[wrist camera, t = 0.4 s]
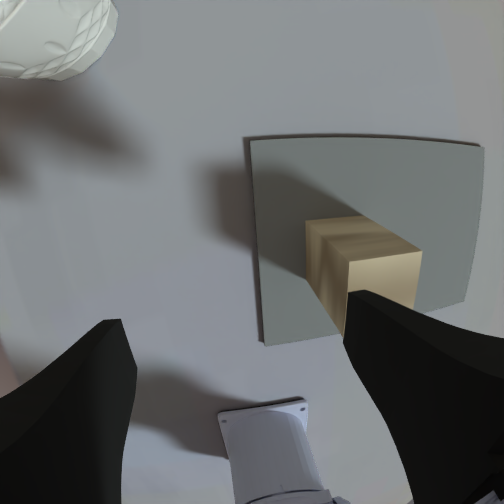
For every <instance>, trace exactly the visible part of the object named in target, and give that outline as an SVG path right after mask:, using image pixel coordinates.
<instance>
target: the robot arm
mask: <svg viewBox="0 0 504 504" xmlns="http://www.w3.org/2000/svg"><path fill="white" fill-rule="evenodd" d="M343 344H344V347H345V349H346V352H347V354H348V357H349V359H350V361H351V364H352V366H353V368H354V370H355V371H356V373H357V375H358V376H359V378H360V380H361V381H362V383H363V385H364V386H365V388H366V390H367V391H368V393H369V395H370V396H371V398H372V400H373V401H374V403H375V405H376V406H377V408H378V410H379V411H380V413H381V415H382V416H383V418H384V420H385V422H386V424H387V426H388V428H389V431H390V433H391V436H392V438H393V440H394V443H395V445H396V447H397V450H398V453H399V456H400V458H401V461H402V464H403V466H404V469H405V472H406V476H407V479H408V482H409V485H410V489H411V492H412V496H413V500H414V504H504V338H499V337H494V336H489V335H484V334H480V333H476V332H472V331H469V330H465V329H462V328H459V327H455V326H452V325H449V324H447V323H444V322H441V321H439V320H436V319H434V318H431V317H429V316H426V315H424V314H421V313H419V312H417V311H415V310H412V309H410V308H408V307H406V306H403V305H401V304H399V303H397V302H395V301H392V300H390V299H388V298H386V297H383V296H381V295H379V294H376V293H374V292H371V291H368V290H365V289H364V290H358V291H352V292H348V298H347V309H346V319H345V329H344V338H343ZM136 380H137V366H136V363H135V360H134V358H133V355H132V352H131V349H130V346H129V343H128V340H127V337H126V334H125V331H124V328H123V324H122V321H121V319H109V320H103V321H101V322H100V323H98V324H97V325H96V326H94V327H93V328H92V329H91V330H90V331H88V332H87V333H86V334H85V335H84V336H83V337H81V338H80V339H79V340H78V341H77V342H76V343H75V344H73V345H72V346H71V347H70V348H69V349H68V350H67V351H65V352H64V353H63V354H62V355H61V356H59V357H58V358H57V359H56V360H54V361H53V362H52V363H51V364H50V365H48V366H47V367H46V368H45V369H43V370H42V371H41V372H40V373H38V374H37V375H36V376H34V377H33V378H32V379H30V380H29V381H27V382H26V383H24V384H23V385H21V386H20V387H18V388H17V389H16V390H14V391H12V392H11V393H9V394H7V395H5V396H3V397H2V398H0V504H121V473H122V458H123V451H124V445H125V440H126V435H127V431H128V426H129V421H130V416H131V412H132V407H133V402H134V398H135V391H136ZM307 416H308V402H307V400H298V401H293V402H287V403H282V404H276V405H270V406H264V407H257V408H250V409H243V410H235V411H226V412H220V413H219V414H218V421H219V425H220V429H221V433H222V436H223V440H224V444H225V447H226V451H227V454H228V458H229V461H230V466H231V474H232V482H233V490H234V497H235V504H350V502H349V501H347V500H345V499H343V498H341V497H335V498H332V497H331V494H330V491H329V489H326V490H324V487H323V484H322V481H321V478H320V475H319V472H318V469H317V466H316V463H315V460H314V457H313V454H312V451H311V448H310V445H309V442H308V439H307V436H306V428H307Z"/></svg>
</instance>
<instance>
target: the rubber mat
mask: <svg viewBox="0 0 504 504" xmlns="http://www.w3.org/2000/svg"><path fill="white" fill-rule="evenodd" d="M249 144H250V157H251V170H252V183H253V196H254V210H255V223H256V237H257V251H258V265H259V279H260V293H261V307H262V321H263V336H264V345H265V347H266V346H272V345H279V344H285V343H291V342H297V341H303V340H308V339H314V338H319V337H324V336H329V335H334V334H339V333H340V332H339V330H338V329H337V327H336V326H335V324H334V322H333V321H332V319H331V318H330V316H329V315H328V313H327V311H326V310H325V308H324V307H323V305H322V304H321V302H320V301H319V299H318V297H317V296H316V294H315V293H314V291H313V290H312V288H311V287H310V285H309V284H308V282H307V281H306V230H305V221H308V220H318V219H328V218H339V217H350V216H362V215H364V216H366V217H367V218H369V219H371V220H373V221H374V222H376V223H378V224H379V225H381V226H383V227H384V228H386V229H388V230H389V231H391V232H393V233H394V234H396V235H398V236H399V237H401V238H403V239H404V240H406V241H408V242H409V243H411V244H412V245H414V246H416V247H417V248H419V249H420V250H422V259H421V266H420V273H419V279H418V285H417V291H416V296H415V301H414V306H413V310H415V311H417V312H419V313H421V314H423V313H426V312H430V311H433V310H437V309H440V308H444V307H447V306H450V305H454V304H457V303H460V302H463V301H464V299H465V295H466V291H467V287H468V282H469V278H470V273H471V269H472V264H473V258H474V253H475V247H476V241H477V235H478V228H479V220H480V212H481V203H482V191H483V177H484V147H478V146H471V145H463V144H454V143H445V142H434V141H423V140H408V139H390V138H359V137H319V138H287V139H268V140H253V141H249Z"/></svg>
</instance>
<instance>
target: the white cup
mask: <svg viewBox="0 0 504 504" xmlns="http://www.w3.org/2000/svg"><path fill="white" fill-rule="evenodd" d="M118 15H119V14H118V11H117V8H116V6H115V3H114V1H113V0H0V77H7V78H22V79H33V78H35V79H41V80H53V81H63V80H65V79H68V78H70V77H72V76H75V75H78V74H80V73H83V72H84V71H85V70H86V69H87V68H88V67H90V66H91V65H92V64H93V63H94V62H95V61H97V60H98V59H99V58H100V57H101V56H102V55H103V53H104V52H105V50H106V48H107V47H108V45H109V43H110V42H111V40H112V39H113V37H114V36H115V31H116V26H117V20H118Z"/></svg>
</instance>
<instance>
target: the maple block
mask: <svg viewBox="0 0 504 504" xmlns="http://www.w3.org/2000/svg"><path fill="white" fill-rule="evenodd" d="M305 230H306V281H307V282H308V284H309V285H310V287H311V288H312V290H313V291H314V293H315V294H316V296H317V297H318V299H319V301H320V302H321V304H322V305H323V307H324V308H325V310H326V311H327V313H328V315H329V316H330V318H331V319H332V321H333V322H334V324H335V326H336V327H337V329H338V330H339V332H340V333H341V335H342V337H343V338H344V329H345V319H346V309H347V298H348V292H352V291H358V290H364V289H365V290H368V291H371V292H374V293H376V294H379V295H381V296H383V297H386V298H388V299H390V300H392V301H395V302H397V303H399V304H401V305H403V306H406V307H408V308H410V309H412V310H413V306H414V301H415V296H416V291H417V285H418V279H419V273H420V266H421V259H422V250H420V249H419V248H417V247H416V246H414V245H412V244H411V243H409V242H408V241H406V240H404V239H403V238H401V237H399V236H398V235H396V234H394V233H393V232H391V231H389V230H388V229H386V228H384V227H383V226H381V225H379V224H378V223H376V222H374V221H373V220H371V219H369V218H367V217H366V216H364V215H362V216H350V217H339V218H328V219H318V220H308V221H305Z"/></svg>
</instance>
